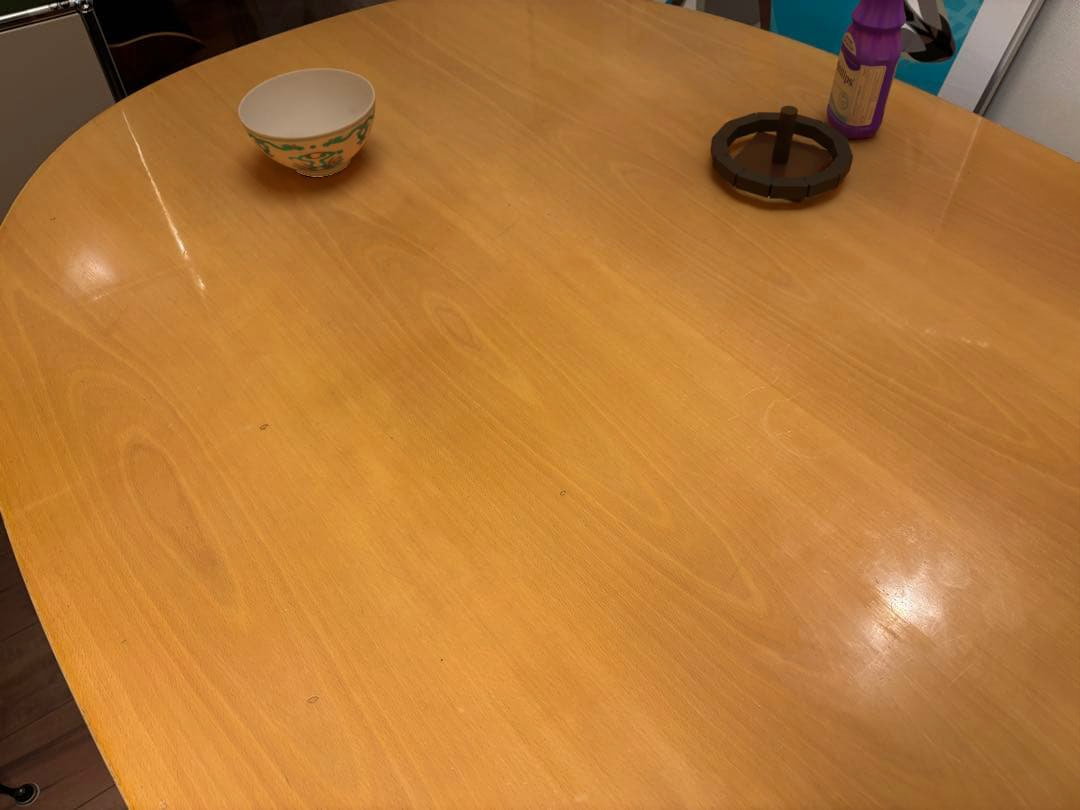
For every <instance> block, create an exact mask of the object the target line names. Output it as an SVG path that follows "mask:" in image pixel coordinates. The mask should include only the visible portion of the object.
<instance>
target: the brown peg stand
mask: <svg viewBox="0 0 1080 810" xmlns="http://www.w3.org/2000/svg"><path fill="white" fill-rule="evenodd" d="M779 112H780V116H779V122H778V127H777V132H775V134H772V133H770V132H756V133H754V135H753V136H752V137H751V138H750V140H749V141H748V142H747V143H746V144H745V145H744V147H742V148H741V149H740V151H739V152H738V153H737V154H736V155H735V156H734V158H733V159H734V160H736V161H737V162H738V163H739V164H740V165H742V166H743V167H744V168H745V169H747V170H751V171H754V172H757V173H760V174H764V175H767V176H770V177H790V178H804V177H807V176H810V175H812V174H815V173H818V172H821V171H824V170H827V169H828V168H829V166H830V165H831V164H832V162H833V160H832V157H831V154H830V152H829V151H828V150H826V149H825V148H821V147H818V146H814V145H811V144H807V143H804V142H801V141H796V140H793V139H794V135H795V134H794V129H795V124H796V119H797V114H799V109H798V108H797V107H796V106H793V105H783V106H782V107H781V108H780V111H779ZM787 200H788V201H790V202H794V203H797V204H801V203H802V201H803V200H804V199H787Z"/></svg>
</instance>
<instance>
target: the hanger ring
mask: <svg viewBox="0 0 1080 810" xmlns="http://www.w3.org/2000/svg"><path fill="white" fill-rule="evenodd" d="M779 116H780V111H775V112H774V111H758V112H752V113H750V114H747V115H742V116H740V117H737V118H733V119H730V120H728V121H726V122H725V123H724V124H723V125H722V126H721V127H720V128H719V130H717V132H716V133H714V135H713V136H712V138H711V141H710V151H709V152H710V159H711V165H712V169H713V171H714V172H715V173H716V174H717V175H719V176H720V177H721V178H722V179H723V180H724V181H726V182H727V183H728V185H730V186H731V187H732V188H734V187H735V189H736V190H740V191H744V192H747V193H750V194H753V195H755V196H759V197H762V198H765V199H768V198H769V199H770V200H772V199H773V200H788V199H803V200H806V199H810V198H813V197H817V196H820V195H822V194H825V193H827V192H830V191H833V190H836V188H838V187H839V186H840V185H841V183H842V182H843V180H845V178H846V177H847V175H848V174H849V172H850V171H851V167H852V164H853V159H854V154H853V152H852V150H851V146H850V143H849V140H848V139H849V138H846V137H845V136H844V135H842V134H841V133H840V132H838V131H837V130H835V129H834V128H832V127H831V126H830V124H829V123H827V122H826V121H824V122H823V120H821V119H817V118H813V117H809V116H807V115H806V116H805V115H802V114H799V113H798V114H797V119H796V124H795V129H794V134H793V135H796V136H799V137H803V138H807V139H810V140H813V141H814V142H815V143H817V144H818V145H820V147H822V148H823V149H825V150H828V151H829V152H830V154H831V157H832V161H831V164H830V165H829V166H828V168H827V169H826V170H824V171H821V172H818V173H815V174H812V175H810V176H807V177H804V178H790V177H770V176H767V175H764V174H760V173H757V172H754V171H751V170H747V169H745V168H744V167H743V166H742V165H740V164H739V163H738V162H737V161H736V160H734V158H733V156H731V155H730V153H729V148H730V147H731V145H733V144H734V142H735V141H736V140H738V139H740V138H743V137H747V136H750V135H753V134H756V133H757V132H766V133H776V132H777V127H778V122H779Z"/></svg>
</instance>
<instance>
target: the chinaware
mask: <svg viewBox="0 0 1080 810" xmlns="http://www.w3.org/2000/svg"><path fill="white" fill-rule="evenodd" d="M237 114H238V118H239V121H240V123H241V124H242V126H243V128H244V130H245V132H246V134H248V136H249V137H250V139H251V140H252V142H253V143H254V144H255V145H256V146H257V147H258V148H259V149H260V151H262V152H263V153H264V154H265V155H266V156H268V157H269V158H270V159H272V160H273V161H274V162H276V163H279V164H280V165H283V166H284V167H286V168H289V169H293V170H294V169H295V170H296V171H298V172H299V173H302V174H305V175H309V176H317V177H318V176H327V175H330V174H333V173H337V172H339V171H341V170H342V171H344V170H345V169H346V168H348V166H349V165H350V163H351V161H350V160H352V158H353V157H354V156H355V155H356V154H357V153H358V152H359V151H360V150H361V149H362V148H363V146H364V145H365V143H366V141H367V139H368V138H369V136H370V133H371V132H372V131H371V130H372V128H373V124H374V119H375V114H376V90H375V88H374V86H373V85H372V83H371V82H370V81H369V80H368V79H367V78H365V77H364V76H362V75H360V74H358V73H356V72H352V71H349V70H345V69H338V68H330V67H329V68H327V67H317V68H305V69H298V70H293V71H289V72H286V73H282V74H279V75H276V76H273V77H271V78H269V79H267V80H265V81H262V82H261V83H259V84H257V85H256V86H254V87H253V88H251V89H250V90H249V91H248V92H247V93H246V94H245V95H244V96H243V98H242V99H241V100H240V102H239V105H238V109H237ZM348 164H349V165H348ZM344 168H345V169H344ZM343 169H344V170H343ZM295 170H294V171H295ZM296 171H295V172H296ZM342 171H341V172H342ZM339 173H340V172H339ZM337 174H338V173H337Z"/></svg>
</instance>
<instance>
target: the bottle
mask: <svg viewBox="0 0 1080 810" xmlns="http://www.w3.org/2000/svg"><path fill="white" fill-rule="evenodd" d="M850 16H851V21H852V22H851V23H850V24H849V26H848V27H847V29H846V30H845V32H844V34H843V37H842V40H841V46H840V50H839V56H838V60H837V64H836V69H835V73H834V77H833V81H832V85H831V90H830V94H829V99H828V103H827V105H826V117H827V118H826V119H827V121H828V125H830V126H831V127H832V128H834V129H835V130H837V131H838V132H840V133H841V134H842V135H844V136H845V137H846V138H847V139H865V138H870V137H872V136H875V135H876V134H877V132H878V131H879V130H880V128H881V126H882V125H883V118H884V115H885V112H886V108H887V104H888V101H889V97H890V94H891V89H892V86H893V82H894V78H895V75H896V71H897V67H898V65H899V60H900V58H901V53H902V32H901V31H902V28H903V26H904V25H905V24H906V21H907V16H906V11H905V0H860V1H859V2H858V3H857V5H856V6H855V8H854V9H853V10H851V15H850Z"/></svg>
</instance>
